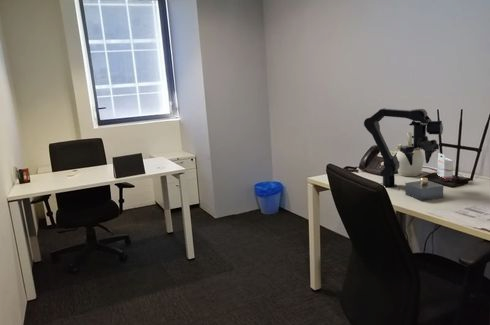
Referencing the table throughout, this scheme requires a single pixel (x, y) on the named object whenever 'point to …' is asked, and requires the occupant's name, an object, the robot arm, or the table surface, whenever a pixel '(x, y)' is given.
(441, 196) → the block
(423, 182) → the plunger
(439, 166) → the ink cartridge box
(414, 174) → the jug
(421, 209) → the table surface
